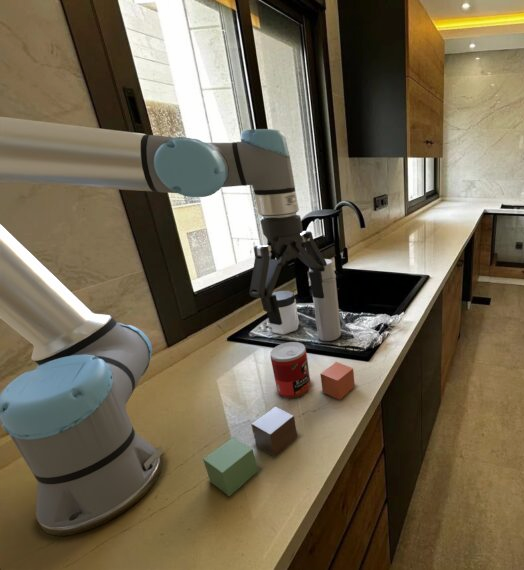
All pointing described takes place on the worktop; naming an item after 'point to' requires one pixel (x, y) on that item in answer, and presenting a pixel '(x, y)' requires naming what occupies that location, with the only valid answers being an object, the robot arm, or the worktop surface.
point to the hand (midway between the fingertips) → (299, 309)
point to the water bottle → (327, 306)
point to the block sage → (231, 465)
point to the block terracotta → (337, 380)
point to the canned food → (290, 369)
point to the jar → (286, 313)
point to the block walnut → (274, 430)
